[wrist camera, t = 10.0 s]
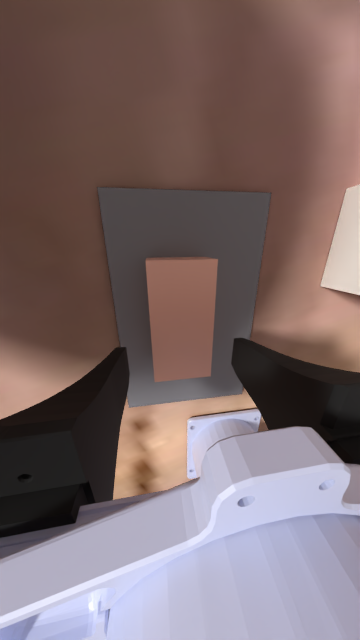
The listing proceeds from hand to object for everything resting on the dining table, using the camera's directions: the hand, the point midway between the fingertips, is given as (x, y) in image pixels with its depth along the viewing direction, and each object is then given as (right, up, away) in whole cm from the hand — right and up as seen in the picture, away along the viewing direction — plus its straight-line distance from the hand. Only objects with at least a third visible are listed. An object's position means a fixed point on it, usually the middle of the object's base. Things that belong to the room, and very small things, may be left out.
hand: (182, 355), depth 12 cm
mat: (0, +3, +3) cm, 4 cm away
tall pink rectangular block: (0, +3, +2) cm, 4 cm away
